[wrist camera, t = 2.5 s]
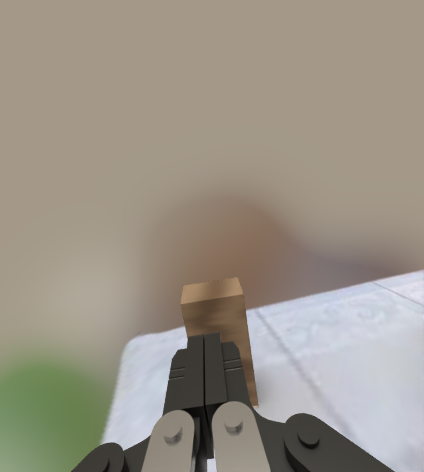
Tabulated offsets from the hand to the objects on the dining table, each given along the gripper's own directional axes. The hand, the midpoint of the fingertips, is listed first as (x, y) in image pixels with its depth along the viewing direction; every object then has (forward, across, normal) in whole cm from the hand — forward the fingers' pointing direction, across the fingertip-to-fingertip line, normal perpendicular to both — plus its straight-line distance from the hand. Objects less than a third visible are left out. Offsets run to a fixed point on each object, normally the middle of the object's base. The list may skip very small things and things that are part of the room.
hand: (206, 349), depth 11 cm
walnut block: (+16, 0, +21) cm, 26 cm away
